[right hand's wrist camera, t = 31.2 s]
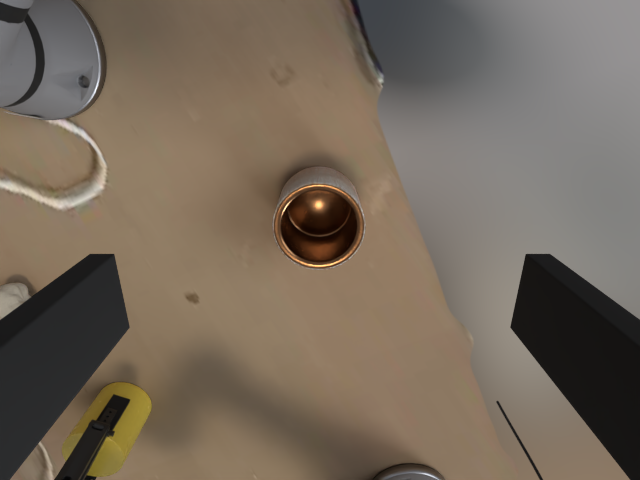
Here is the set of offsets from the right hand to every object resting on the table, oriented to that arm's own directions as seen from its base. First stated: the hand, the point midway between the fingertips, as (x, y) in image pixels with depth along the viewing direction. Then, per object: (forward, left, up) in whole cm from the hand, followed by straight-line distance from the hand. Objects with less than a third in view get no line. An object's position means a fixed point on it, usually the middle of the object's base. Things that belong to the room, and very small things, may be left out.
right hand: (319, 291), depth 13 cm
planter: (+9, -3, -41) cm, 42 cm away
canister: (+34, -44, -41) cm, 69 cm away
